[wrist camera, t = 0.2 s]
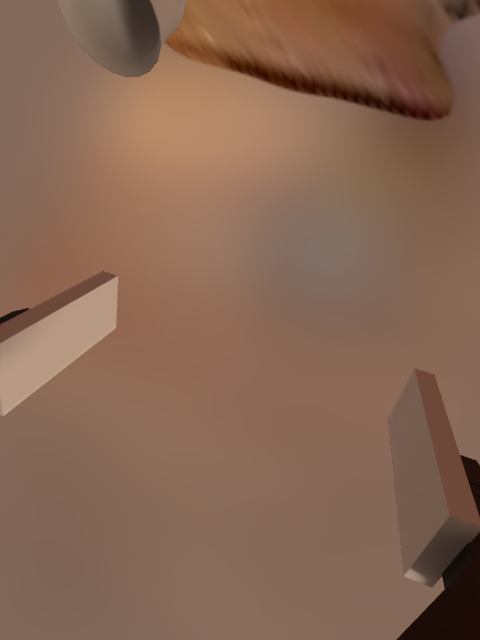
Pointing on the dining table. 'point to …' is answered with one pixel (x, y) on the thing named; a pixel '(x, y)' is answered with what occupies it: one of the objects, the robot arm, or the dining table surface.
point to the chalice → (122, 31)
